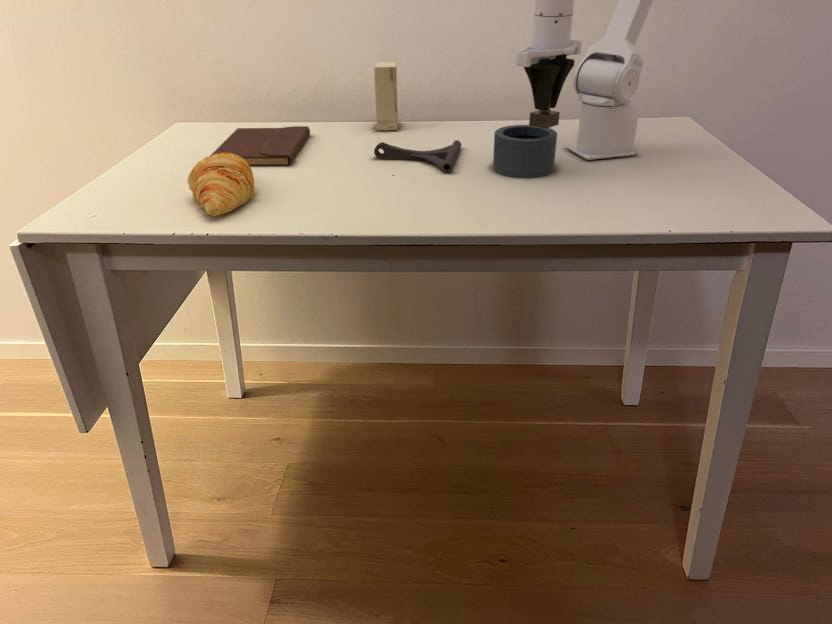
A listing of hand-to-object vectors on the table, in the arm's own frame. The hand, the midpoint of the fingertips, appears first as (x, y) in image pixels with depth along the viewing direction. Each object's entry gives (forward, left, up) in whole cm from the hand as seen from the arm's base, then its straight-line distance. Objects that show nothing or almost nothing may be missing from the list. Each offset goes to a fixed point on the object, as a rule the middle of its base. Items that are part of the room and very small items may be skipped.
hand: (545, 108), depth 112 cm
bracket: (+18, -14, -11) cm, 25 cm away
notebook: (+44, -29, -11) cm, 53 cm away
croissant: (+52, -4, -11) cm, 53 cm away
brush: (0, 0, -3) cm, 3 cm away
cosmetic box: (+17, -37, -11) cm, 42 cm away
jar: (+2, -3, -10) cm, 11 cm away
